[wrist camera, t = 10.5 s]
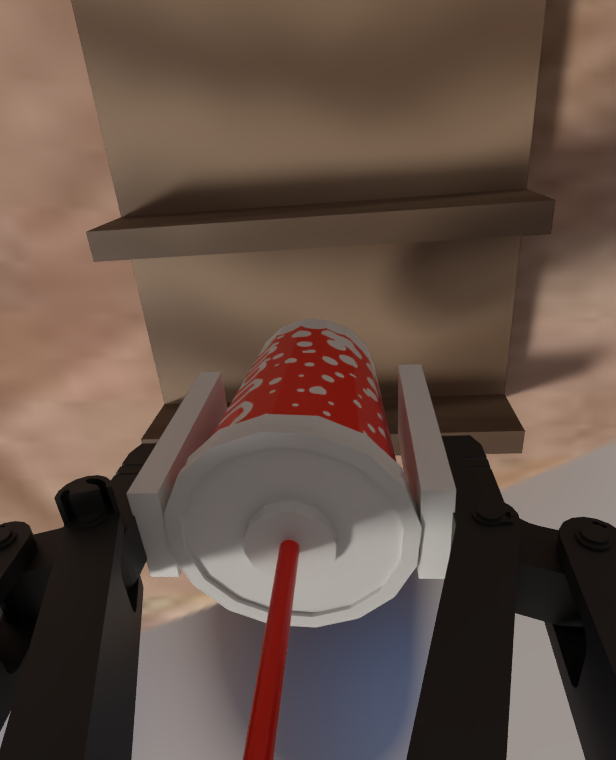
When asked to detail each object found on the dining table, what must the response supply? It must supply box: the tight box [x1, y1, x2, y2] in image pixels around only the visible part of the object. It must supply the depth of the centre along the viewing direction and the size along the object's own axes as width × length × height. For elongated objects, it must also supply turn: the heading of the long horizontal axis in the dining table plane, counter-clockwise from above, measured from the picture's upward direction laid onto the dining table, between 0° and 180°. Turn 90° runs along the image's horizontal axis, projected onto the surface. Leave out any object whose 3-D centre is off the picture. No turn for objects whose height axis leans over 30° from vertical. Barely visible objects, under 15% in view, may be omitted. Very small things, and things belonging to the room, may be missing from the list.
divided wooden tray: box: [71, 0, 555, 455], centre depth 22 cm, size 21×18×5 cm
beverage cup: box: [164, 319, 422, 760], centre depth 14 cm, size 6×6×14 cm
